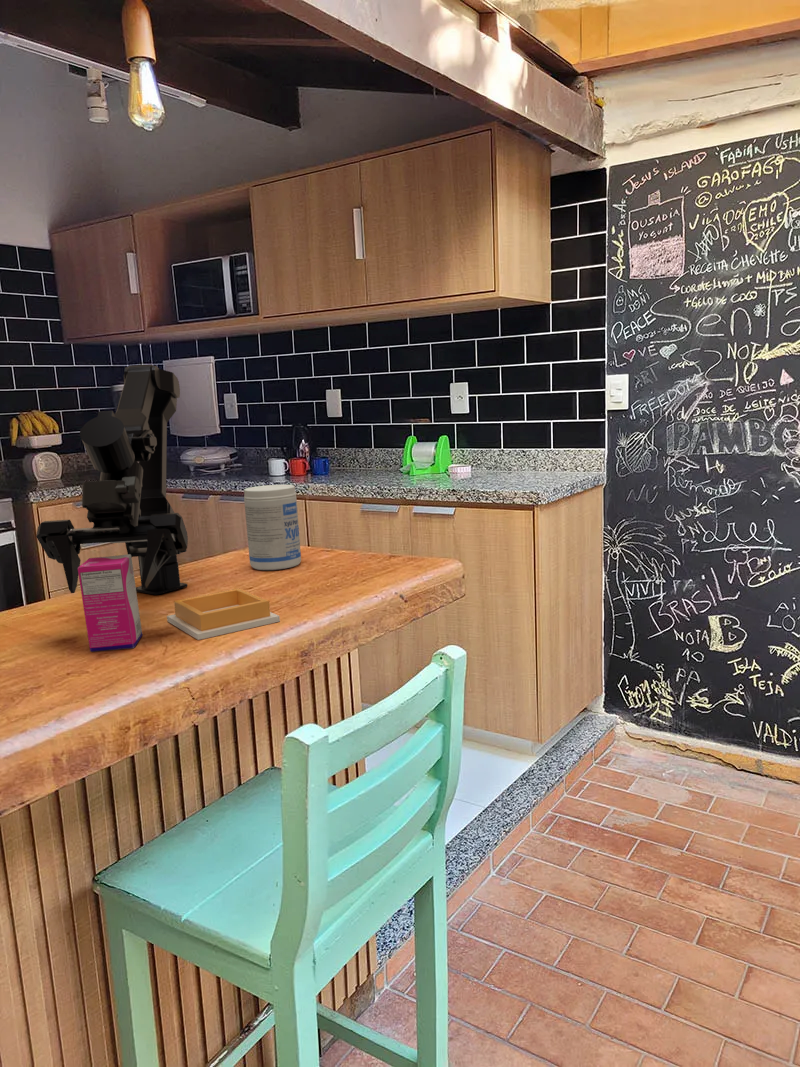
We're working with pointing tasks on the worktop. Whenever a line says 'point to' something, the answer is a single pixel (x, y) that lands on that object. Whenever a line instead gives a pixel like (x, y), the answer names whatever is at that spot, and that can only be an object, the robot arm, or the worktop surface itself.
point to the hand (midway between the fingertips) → (107, 589)
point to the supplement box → (110, 603)
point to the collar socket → (221, 613)
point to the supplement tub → (272, 527)
